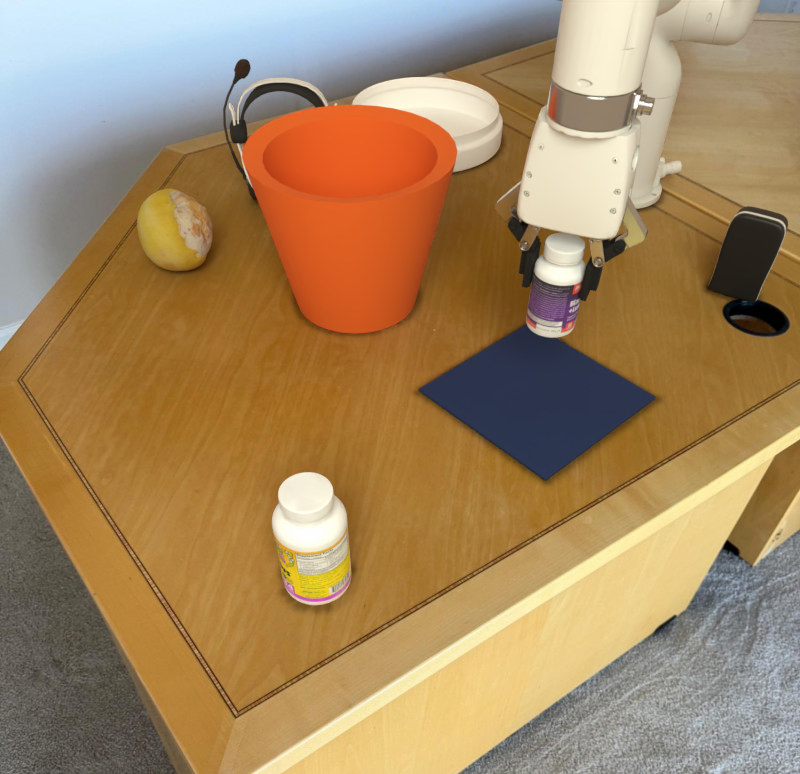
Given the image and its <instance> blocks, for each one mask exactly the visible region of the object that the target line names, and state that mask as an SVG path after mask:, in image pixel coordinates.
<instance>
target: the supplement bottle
mask: <svg viewBox="0 0 800 774" xmlns="http://www.w3.org/2000/svg"><path fill="white" fill-rule="evenodd" d="M280 484H281V485H280V486H279V488H278V491H277V499H278V503H277V504H276V506H275V508H274V510H273V513H272V516H271V528H272V533H273V538H274V543H275V547H276V553H277V558H278V559H277V560H278V564H279V568H280V572H281V579H282V582H283V586H284V588H285V590H286V592H287V593H288V594H289V595H290V597H291V598H293V599H294V600H296V601H297V602H299V603H301V604H305V605H307V606H322V605H327V604H330V603H333V602H334V601H336V600H338V599H339V598H341V597H342V596H343V595H344V594H345V593H346V592H347V590H348V588H349V586H350V584H351V582H352V560H351V550H350V538H349V524H348V523H349V522H348V513H347V509H346V507H345V505H344V503H343V501H341V500H340V498H339V497H338V496H336V495H335V493H334V492H335V491H334V487H333V485H332V482H331V481H330V480H329V478H327V477H326V476H324V475H322V474H320V473H317V472H313V471H311V472H310V471H304V472H303V471H302V472H298V473H295V474H293V475H291V476H289V477H287V478H285V479H284V480H283V482H282V483H280Z"/></svg>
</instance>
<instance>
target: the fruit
mask: <svg viewBox="0 0 800 774" xmlns="http://www.w3.org/2000/svg"><path fill="white" fill-rule="evenodd" d="M136 229H137V236H138V239H139V244H140V246H141V248H142V250H143V252H144V254H145V255H146V256H147V258H148V259H149V260H151V262H152V263H153V264H155V265H156V266H158V267H159V268H161V269H163V270H167V271H170V272H171V271H172V272H186V271H191V270H195V269H197V268H199V267H201V265H203V264H204V263H205V261H206V260H207V256H208V253H209V251H210V249H211V247H212V243H213V237H214V236H213V235H214V234H213V230H214V224H213V222H212V219H211V217H210V215H209V212H208V210H207V207H205V206H204V205H202V204H201V203H199V202H198V201H197V200H196V199H195V197H192V196H191V195H188V194H186V193H183V192H182V191H180V190H178V189H175V188H163V189H159V190H157V191H155V192H153V193H152V194H151V195H149V196H147V198H145V200H144V201H143V202H142V203H141V206H140V208H139V210H138V213H137V218H136Z"/></svg>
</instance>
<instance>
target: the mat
mask: <svg viewBox="0 0 800 774" xmlns="http://www.w3.org/2000/svg"><path fill="white" fill-rule="evenodd" d="M418 392H419V393H420V394H422V395H423V396H425V397H426V398H427V399H429V400H430V401H432V402H433V403H435V404H436V405H437V406H438V407H440V408H442V409H443V410H445V411H446V412H447V413H449V414H450V415H452V416H453V417H454V418H455V419H457V420H459V421H460V422H462V423H463V424H464V425H466V426H467V427H468V428H470V429H471V430H473V431H474V432H476V433H477V434H479V435H480V436H481V437H483V439H485V440H487V441H488V442H489V443H491V444H492V445H494V446H495V447H496V448H498V449H499V450H501V451H502V452H503V453H505V454H507V455H508V456H509V457H511V458H512V459H513V460H515V461H516V462H518V463H519V464H521V465H522V466H524V467H525V468H526V469H528V470H529V471H530V472H532V473H534V474H535V475H536V476H538V477H539V478H540V479H541V480H543V481H545V482H546V481H548V480H549V479H550V478H552V477H553V476H554V475H556V474H557V473H558V472H560V471H561V470H563V469H564V468H565V467H566V466H568V465H569V464H570V463H572V462H573V461H575V460H576V459H577V458H579V457H580V456H582V455H583V454H585V452H586V451H588V450H589V449H591V448H592V447H593V446H595V445H596V444H597V443H599V442H600V441H601V440H602V439H604V438H605V437H607V436H608V435H609V434H611V433H612V432H613V431H615V430H616V429H617V428H619V427H620V426H622V425H623V424H624V423H625V422H627V421H628V420H629V419H631V418H632V417H633V416H635V415H636V414H638V413H639V412H640V411H641V410H643V409H645V407H647V406H648V405H650V404H651V403H652V402H653V401H656V396H655V395H653V394H652V393H650V392H649V391H647V390H645V389H643V388H642V387H640V386H638V385H636V384H635V383H634V382H631V381H630V380H628V379H627V378H625V377H623V376H622V375H620V374H618V373H616V372H614V371H613V370H611V369H610V368H608V367H606V366H604V365H603V364H601V363H600V362H598V361H596V360H594V359H593V358H591V357H589V356H588V355H586V354H584V353H583V352H581V351H580V350H577V349H576V348H574V347H573V346H570V345H569V344H567V343H565V342H564V341H562V340H560V339H559V338H558V337H557V338H549V337H543V336H540V335H537V334H535V333H534V332H532V331H531V330H530V329H529V328H528V326H527V324H526V323H525V324H524V325H522V326H521V327H519V328H518V329H515V330H514V331H512V332H510V333H509V334H507V335H506V336H504V337H503V338H501V339H499V340H497V341H496V342H494V343H492V344H491V345H490V346H487V347H486V348H484V349H483V350H481V351H479V352H478V353H476V354H475V355H472V356H471V357H469V358H468V359H466V360H465V361H463V362H461V363H459V364H457V365H456V366H454V367H453V368H451V369H449V370H448V371H446V372H445V373H443V374H441V375H440V376H438V377H436V378H434V379H433V380H431V381H429V382H428V383H426V384H424V385H423V386H421V387H419V389H418Z"/></svg>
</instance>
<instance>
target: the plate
mask: <svg viewBox="0 0 800 774" xmlns="http://www.w3.org/2000/svg"><path fill="white" fill-rule="evenodd" d="M351 105H371V106H381V107H387V108H394V109H398V110H402V111H406V112H411V113H414V114H416V115H419V116H422V117H424V118H427V119H429V120H431V121H432V122H434V123H436V124H438V125H440V126H441V127H442V128H443V129H444V130H446V131H447V132H448V133H449V134H450V135H451V137H452V138H453V140H454V141H455V143H456V147H457V151H458V152H457V158H456V162H455V166H454V169H453V173H458V172H462V171H463V172H464V171H467V170H470V169H472V168H476V167H478V166H480V165H482V164H485V163H486V162H487V161H489V160H490V159H492V158H493V157H494V156H495V155H496V154H497V153H498V151H499V149H500V148H501V142H502V136H503V127H504V122H503V121H504V120H503V117H502V115H501V112H500V105H499V102H498V101H497V100H496V99H495V97H494V96H493V95H492V94H491V93H490V92H488V91H486V90H485V89H483V88H481V87H478V86H476V85H473V84H471V83H468V82H464V81H461V80H456V79H451V78H444V77H434V76H417V77H416V76H410V77H402V78H395V79H389V80H385V81H381V82H378V83H374V84H373V85H371V86H368V87H366V88H364V89H363V90H362V91H360V92H358V93H357V94H356V96H355V97H354V98H353V101H352V103H351Z"/></svg>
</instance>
